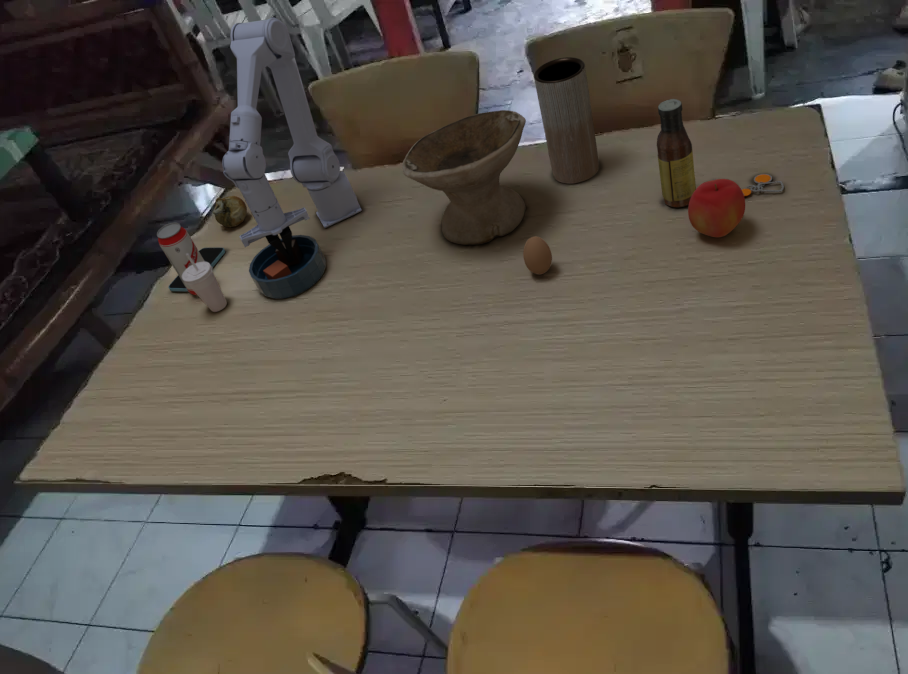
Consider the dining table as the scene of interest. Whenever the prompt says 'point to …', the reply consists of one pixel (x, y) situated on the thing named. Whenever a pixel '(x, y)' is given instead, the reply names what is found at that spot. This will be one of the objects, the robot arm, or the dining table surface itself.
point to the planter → (567, 119)
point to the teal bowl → (301, 273)
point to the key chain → (761, 180)
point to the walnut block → (296, 254)
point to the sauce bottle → (675, 156)
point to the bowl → (471, 174)
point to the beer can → (178, 248)
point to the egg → (537, 255)
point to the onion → (230, 211)
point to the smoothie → (204, 284)
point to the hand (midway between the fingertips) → (290, 259)
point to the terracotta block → (277, 270)
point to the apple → (716, 207)
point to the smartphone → (208, 255)
